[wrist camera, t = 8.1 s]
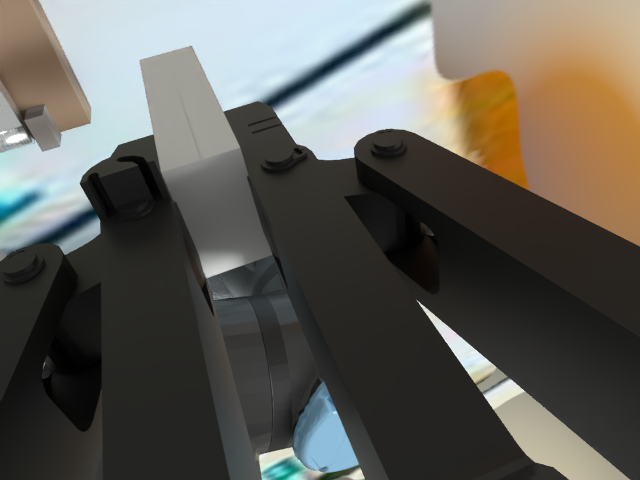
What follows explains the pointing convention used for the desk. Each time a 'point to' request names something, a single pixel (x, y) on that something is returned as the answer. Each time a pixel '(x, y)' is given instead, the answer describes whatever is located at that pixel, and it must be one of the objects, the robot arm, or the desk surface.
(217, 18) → the desk surface
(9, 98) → the silver metal piece
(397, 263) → the robot arm
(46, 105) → the base
